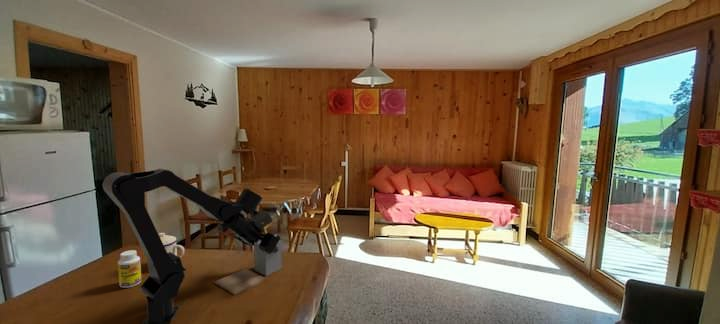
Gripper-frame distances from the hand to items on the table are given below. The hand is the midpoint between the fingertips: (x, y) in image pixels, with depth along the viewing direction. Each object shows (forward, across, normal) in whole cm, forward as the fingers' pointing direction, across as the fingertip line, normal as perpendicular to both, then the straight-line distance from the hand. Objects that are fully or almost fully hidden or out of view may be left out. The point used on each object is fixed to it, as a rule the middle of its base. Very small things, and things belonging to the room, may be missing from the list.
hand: (271, 248), depth 106 cm
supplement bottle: (-18, +26, +29) cm, 43 cm away
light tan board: (-3, 0, +13) cm, 14 cm away
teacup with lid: (-10, +31, +20) cm, 38 cm away
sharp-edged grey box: (+4, 0, +6) cm, 7 cm away
